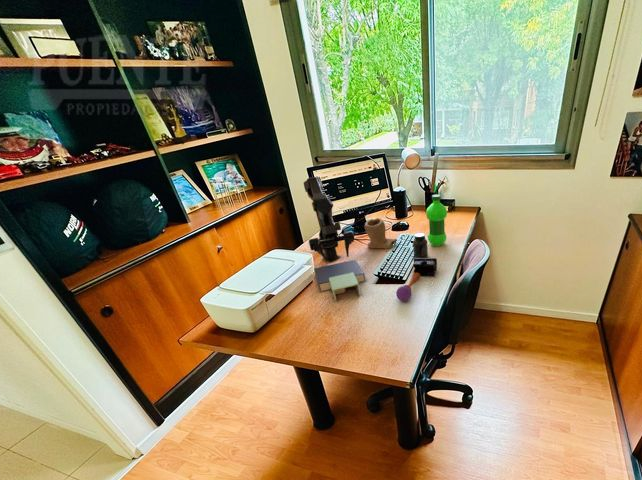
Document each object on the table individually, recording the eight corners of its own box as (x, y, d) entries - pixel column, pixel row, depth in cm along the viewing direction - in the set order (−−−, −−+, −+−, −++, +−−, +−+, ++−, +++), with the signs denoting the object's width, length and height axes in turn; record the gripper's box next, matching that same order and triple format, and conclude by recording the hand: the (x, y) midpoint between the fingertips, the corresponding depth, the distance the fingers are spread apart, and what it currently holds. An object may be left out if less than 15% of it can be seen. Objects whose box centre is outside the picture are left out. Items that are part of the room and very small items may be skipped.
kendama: (424, 271, 139) (409, 292, 123) (422, 283, 142) (407, 305, 126) (411, 268, 140) (394, 288, 124) (409, 280, 144) (393, 301, 128)
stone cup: (364, 250, 172) (359, 223, 163) (372, 241, 181) (368, 215, 172) (391, 252, 168) (387, 224, 159) (398, 243, 177) (395, 215, 168)
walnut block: (342, 278, 138) (344, 284, 135) (352, 276, 139) (354, 281, 136) (343, 286, 141) (346, 291, 138) (353, 283, 142) (355, 289, 139)
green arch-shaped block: (328, 277, 137) (332, 289, 129) (353, 272, 139) (358, 283, 132) (331, 289, 141) (335, 301, 133) (355, 283, 143) (360, 295, 136)
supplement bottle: (411, 257, 161) (410, 234, 154) (424, 254, 163) (423, 231, 156) (417, 262, 156) (416, 238, 149) (430, 259, 158) (429, 235, 151)
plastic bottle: (444, 248, 166) (444, 198, 152) (425, 247, 169) (422, 198, 155) (449, 240, 174) (449, 192, 159) (430, 239, 177) (428, 192, 163)
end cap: (437, 269, 148) (436, 255, 144) (435, 276, 143) (435, 262, 139) (415, 269, 150) (414, 255, 146) (413, 276, 145) (412, 262, 141)
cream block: (331, 280, 137) (333, 286, 134) (341, 278, 138) (343, 284, 135) (333, 288, 140) (335, 294, 137) (343, 286, 141) (345, 292, 138)
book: (316, 276, 152) (313, 268, 150) (357, 266, 157) (355, 259, 155) (320, 291, 140) (318, 283, 138) (365, 281, 145) (363, 273, 142)
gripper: (303, 220, 128) (313, 256, 125) (349, 211, 132) (359, 246, 130) (306, 232, 138) (315, 266, 136) (348, 224, 143) (358, 257, 141)
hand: (337, 259), depth 135 cm, fingers open, 9 cm apart
